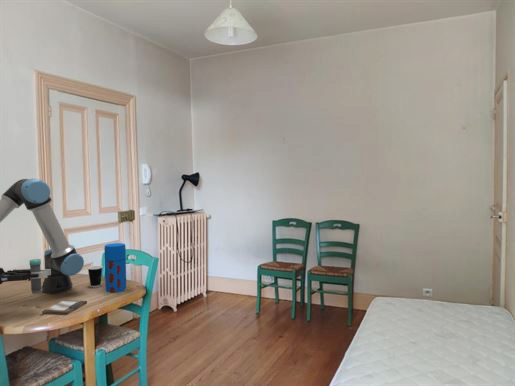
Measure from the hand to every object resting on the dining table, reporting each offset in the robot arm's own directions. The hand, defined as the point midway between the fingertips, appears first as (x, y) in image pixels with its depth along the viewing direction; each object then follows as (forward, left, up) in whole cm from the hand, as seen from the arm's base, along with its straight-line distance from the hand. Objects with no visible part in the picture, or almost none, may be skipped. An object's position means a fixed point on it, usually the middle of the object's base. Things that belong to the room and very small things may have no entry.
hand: (48, 273), depth 176 cm
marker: (+2, -5, -9) cm, 10 cm away
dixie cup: (-42, -2, -18) cm, 46 cm away
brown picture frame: (-6, +4, -18) cm, 19 cm away
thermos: (-37, +13, -18) cm, 43 cm away
